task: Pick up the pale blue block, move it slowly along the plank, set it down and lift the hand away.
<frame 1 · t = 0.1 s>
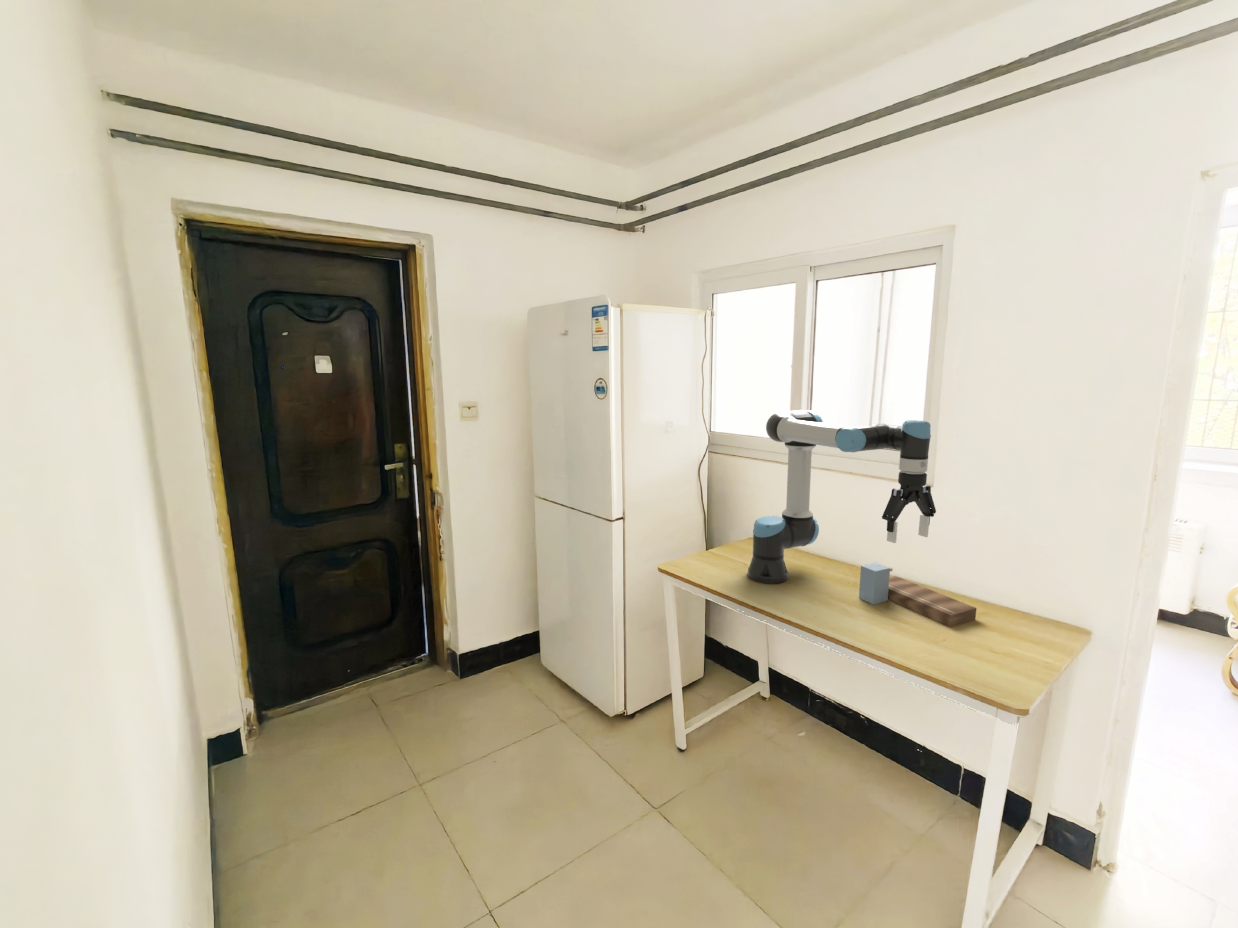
hand: (907, 538, 165), 28 cm above the table, fingers open, 13 cm apart
pale blue block: (873, 599, 187), on the table
plank: (919, 604, 182), on the table
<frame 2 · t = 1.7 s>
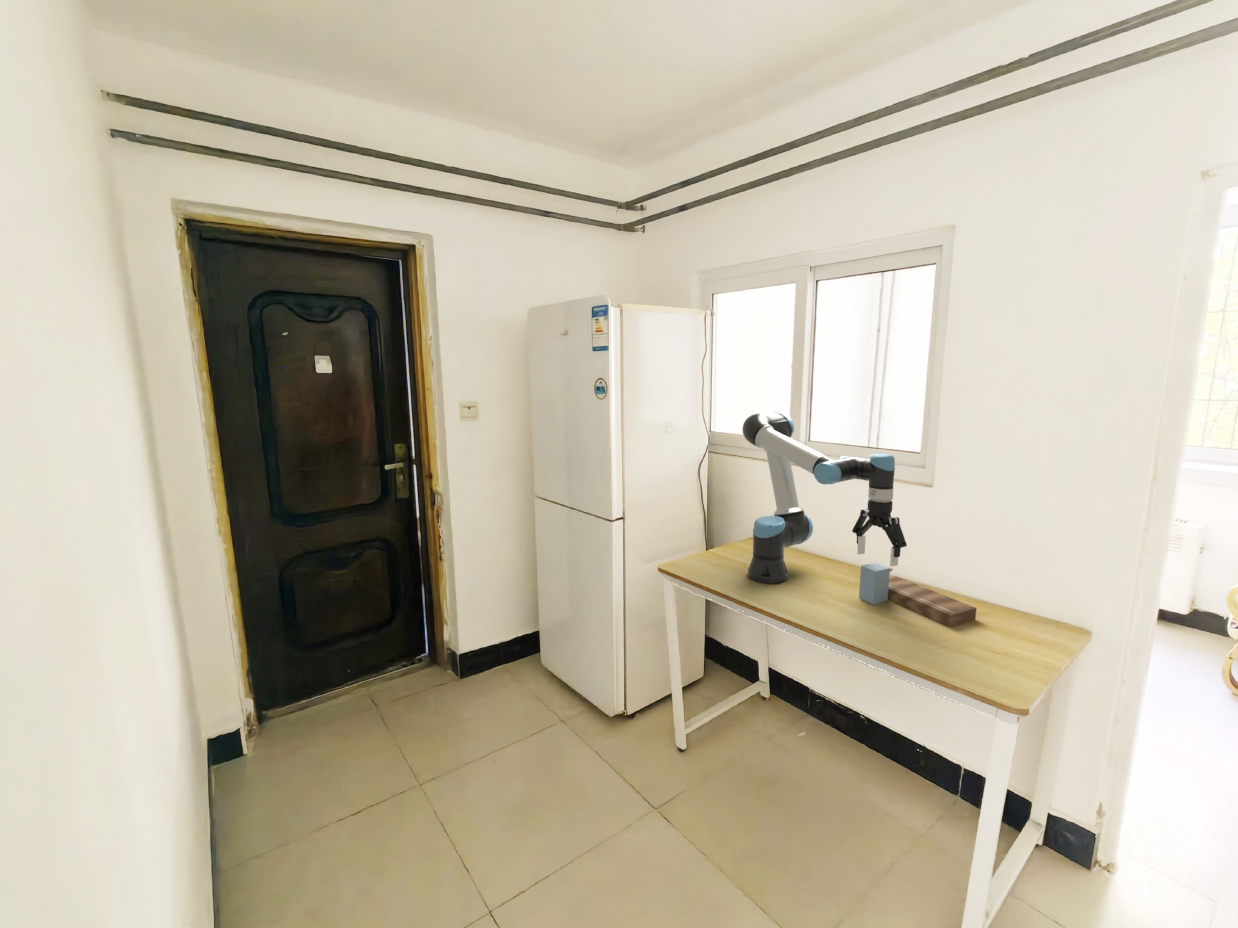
hand: (876, 559, 184), 15 cm above the table, fingers open, 13 cm apart
nothing on the table moved.
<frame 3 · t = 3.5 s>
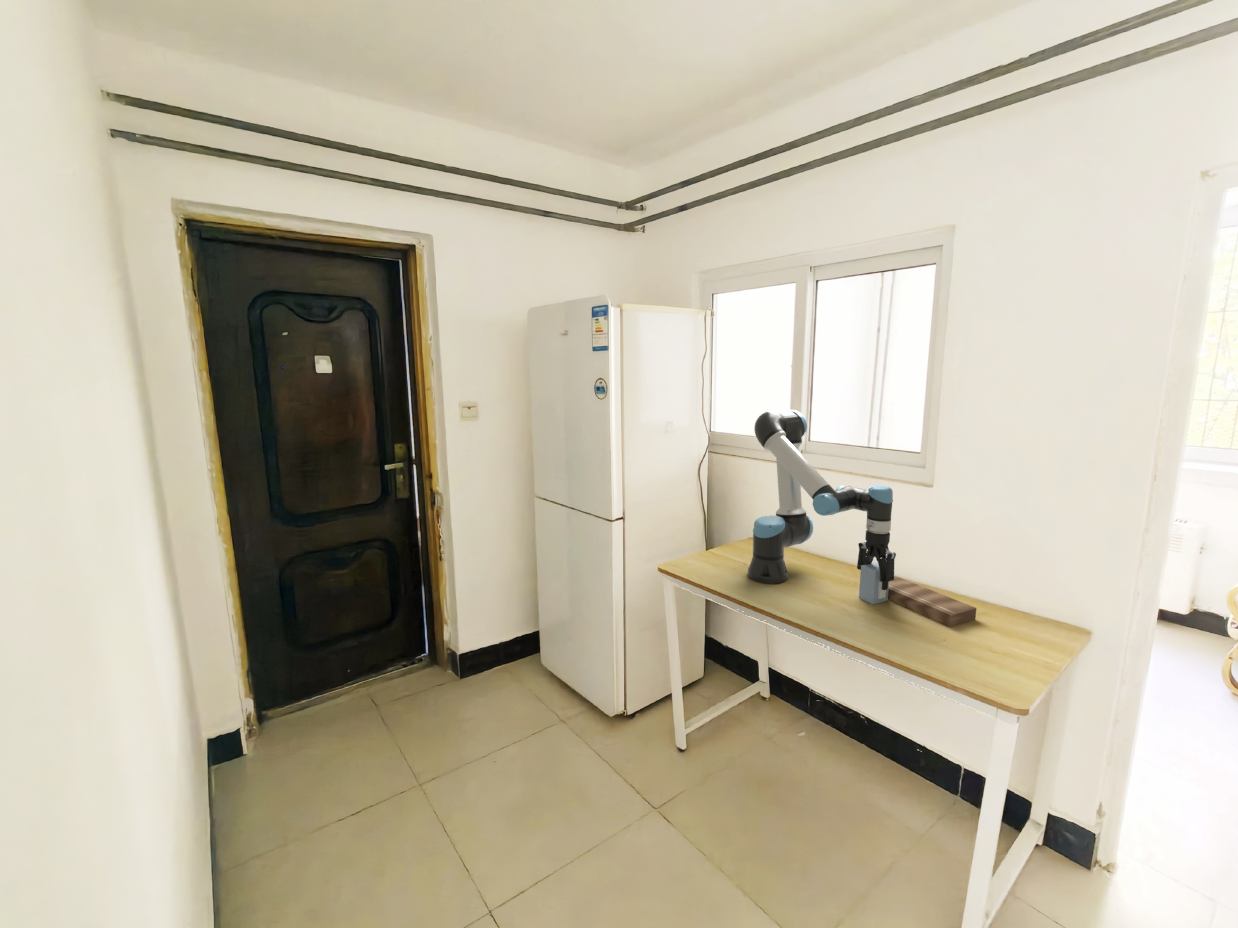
hand: (873, 593, 186), 2 cm above the table, fingers closed on pale blue block, 6 cm apart
pale blue block: (873, 599, 187), on the table, touching gripper
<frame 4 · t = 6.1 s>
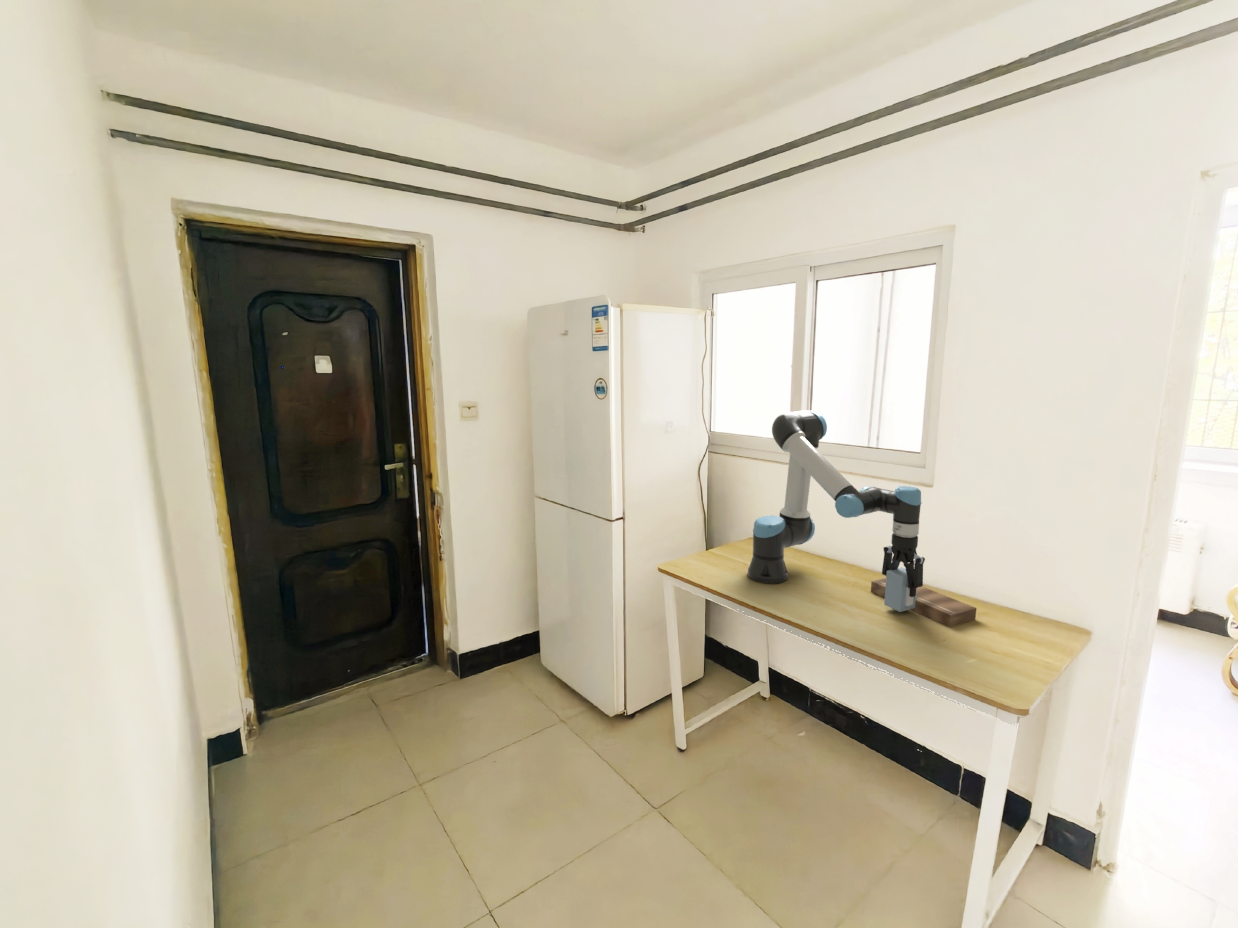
hand: (900, 600, 176), 4 cm above the table, fingers closed on pale blue block, 6 cm apart
pale blue block: (899, 606, 177), point 2 cm above the table, touching gripper
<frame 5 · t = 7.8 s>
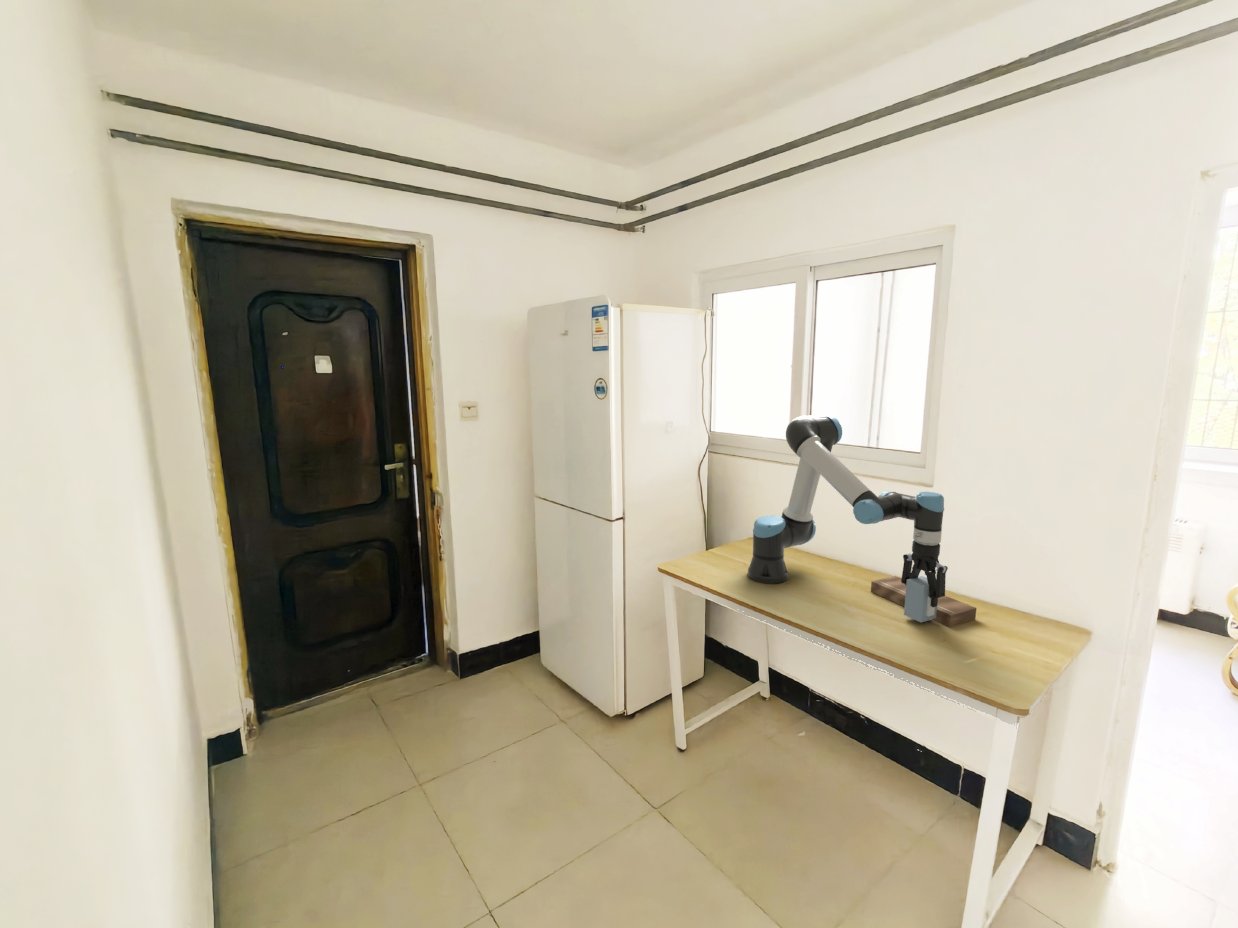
hand: (920, 610, 170), 3 cm above the table, fingers closed on pale blue block, 6 cm apart
pale blue block: (919, 616, 170), point 1 cm above the table, touching gripper
when the fingers open (2 cm above the table, at t = 9.0 s): pale blue block stays where it is, on the table.
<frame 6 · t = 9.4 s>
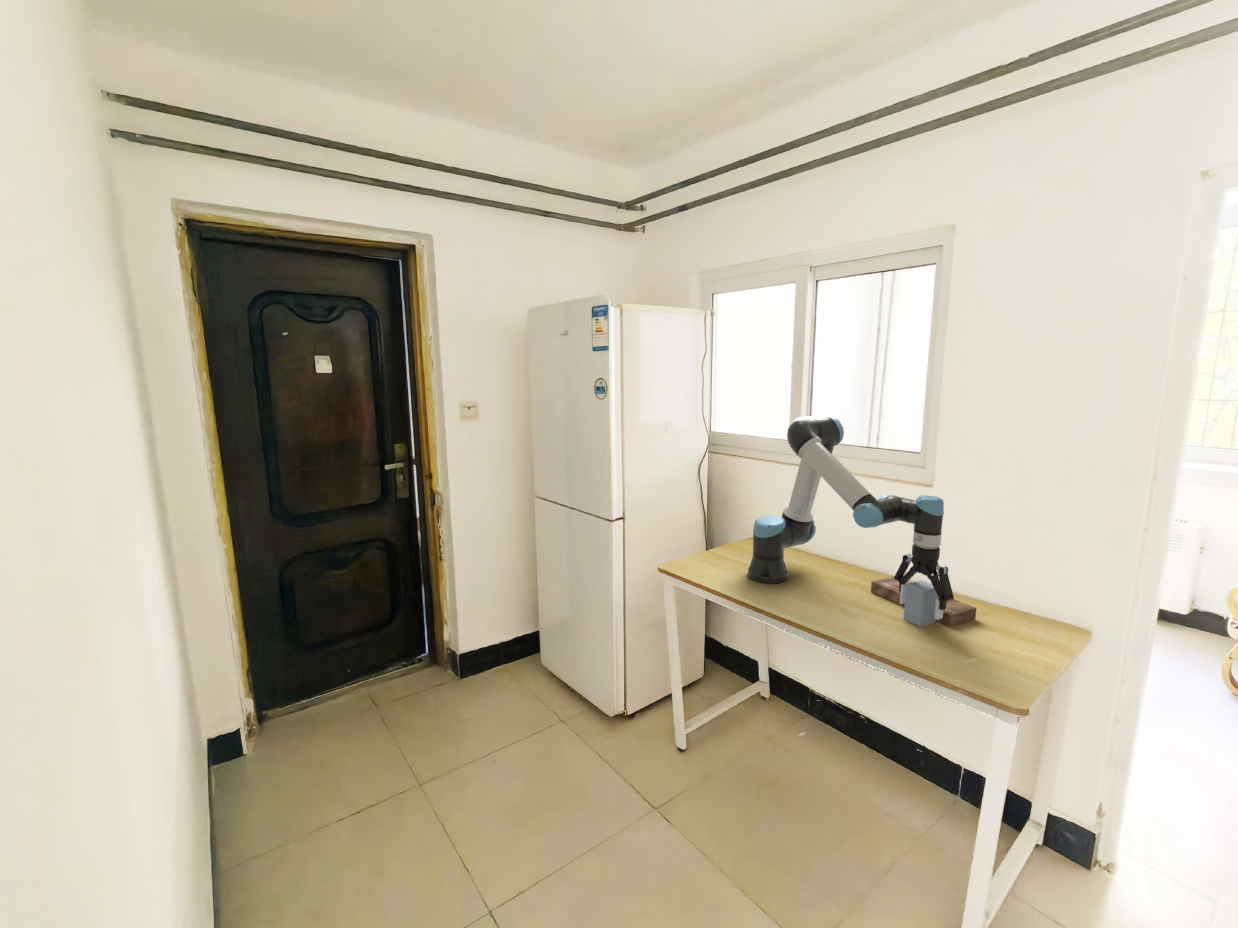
hand: (920, 610, 170), 3 cm above the table, fingers open, 11 cm apart
pale blue block: (919, 620, 170), on the table
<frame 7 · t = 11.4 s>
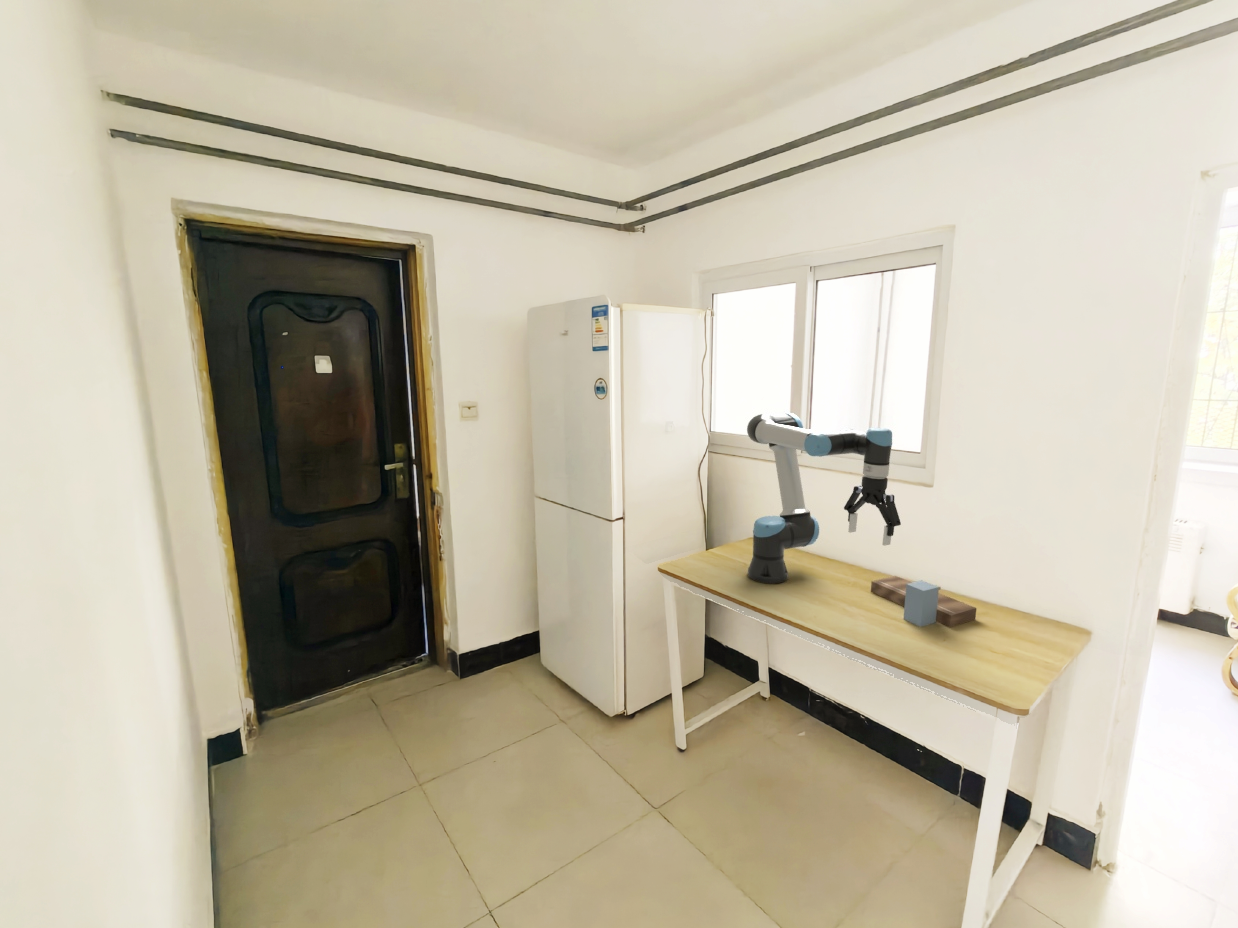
hand: (868, 538, 177), 24 cm above the table, fingers open, 13 cm apart
nothing on the table moved.
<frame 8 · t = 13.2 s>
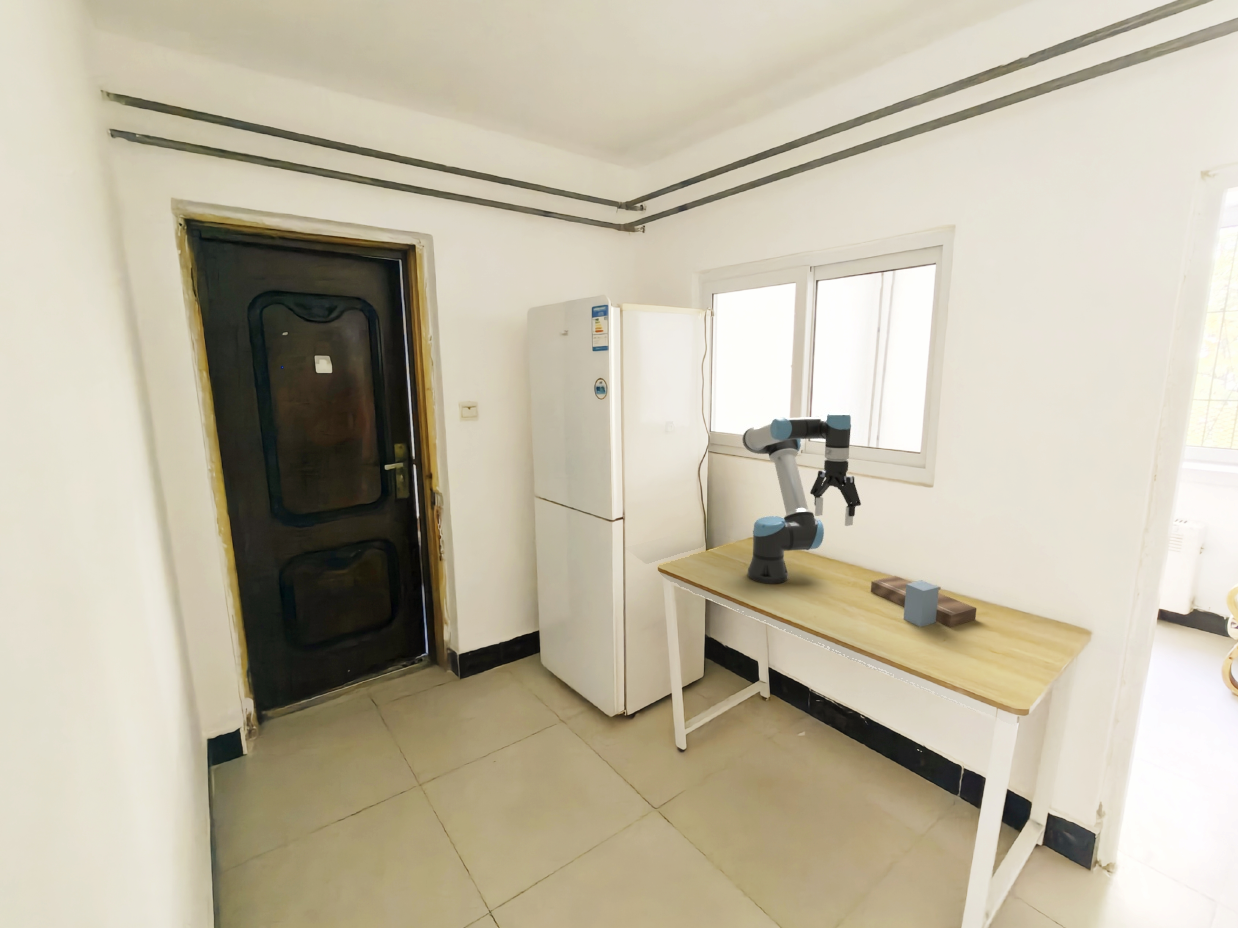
hand: (833, 520, 183), 29 cm above the table, fingers open, 13 cm apart
nothing on the table moved.
at the end: pale blue block moved 18.0 cm from its start; pale blue block inside the target area (0.0 cm from its centre), on the table; pale blue block tilted 0° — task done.
